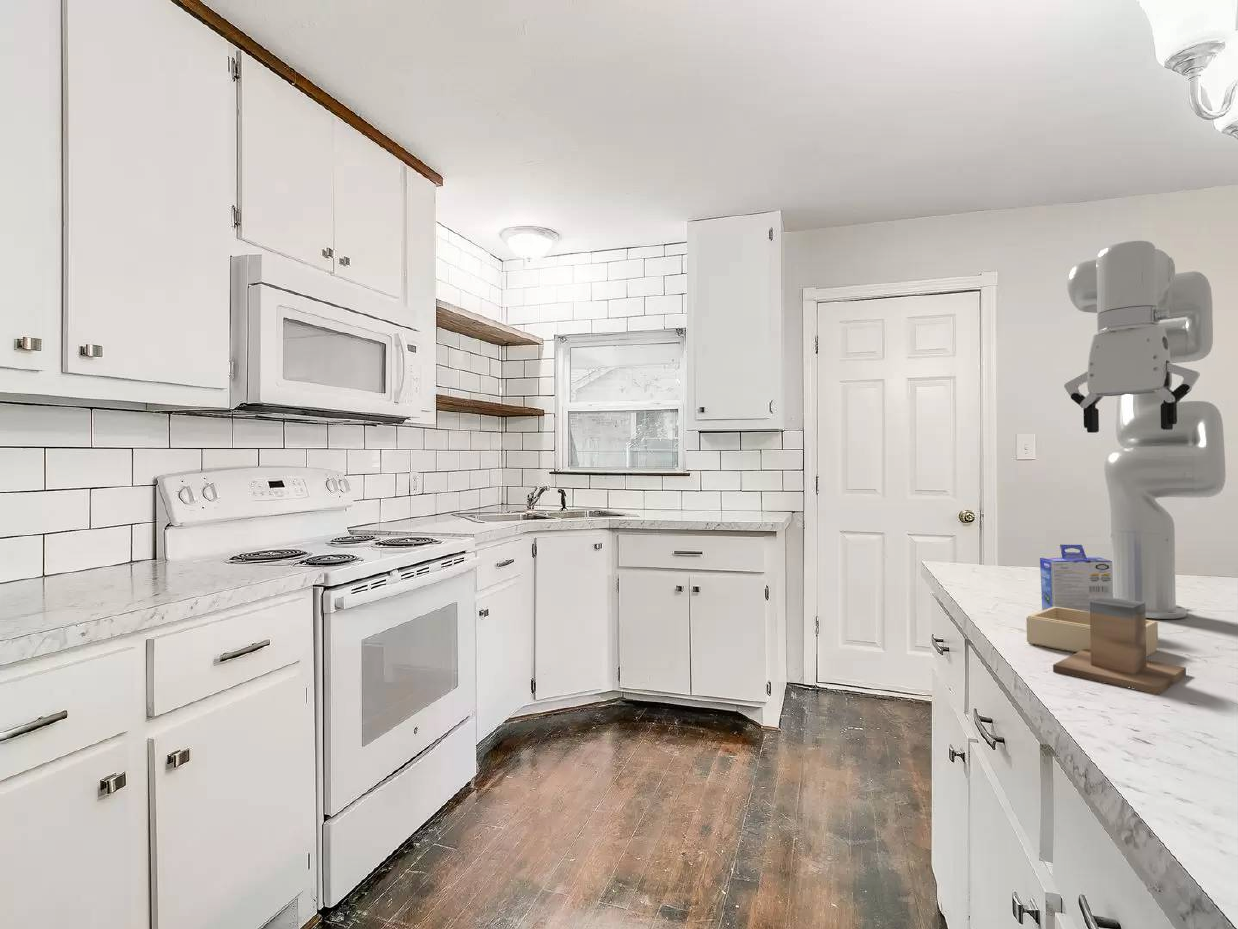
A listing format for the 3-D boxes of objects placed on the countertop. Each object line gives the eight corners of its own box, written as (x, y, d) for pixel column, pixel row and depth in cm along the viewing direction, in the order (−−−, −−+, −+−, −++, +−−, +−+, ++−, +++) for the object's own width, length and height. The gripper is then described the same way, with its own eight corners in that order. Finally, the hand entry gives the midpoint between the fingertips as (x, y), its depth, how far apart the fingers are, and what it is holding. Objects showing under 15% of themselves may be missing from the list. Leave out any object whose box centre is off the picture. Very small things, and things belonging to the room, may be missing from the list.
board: (1085, 655, 101) (1085, 648, 101) (1185, 674, 91) (1185, 667, 91) (1053, 671, 94) (1053, 664, 94) (1158, 694, 84) (1158, 687, 84)
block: (1104, 658, 96) (1103, 596, 96) (1146, 666, 92) (1145, 602, 92) (1090, 665, 93) (1089, 601, 93) (1134, 674, 89) (1132, 607, 89)
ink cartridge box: (1100, 624, 119) (1098, 543, 119) (1116, 632, 113) (1115, 548, 113) (1039, 622, 121) (1038, 543, 121) (1052, 630, 115) (1051, 547, 115)
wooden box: (1055, 631, 114) (1054, 606, 114) (1158, 649, 103) (1157, 621, 103) (1026, 644, 107) (1026, 616, 107) (1133, 664, 96) (1132, 634, 96)
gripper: (1204, 315, 100) (1206, 428, 100) (1073, 334, 113) (1075, 433, 114) (1190, 309, 95) (1192, 428, 95) (1055, 330, 109) (1057, 433, 109)
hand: (1128, 431), depth 104 cm, fingers open, 9 cm apart
